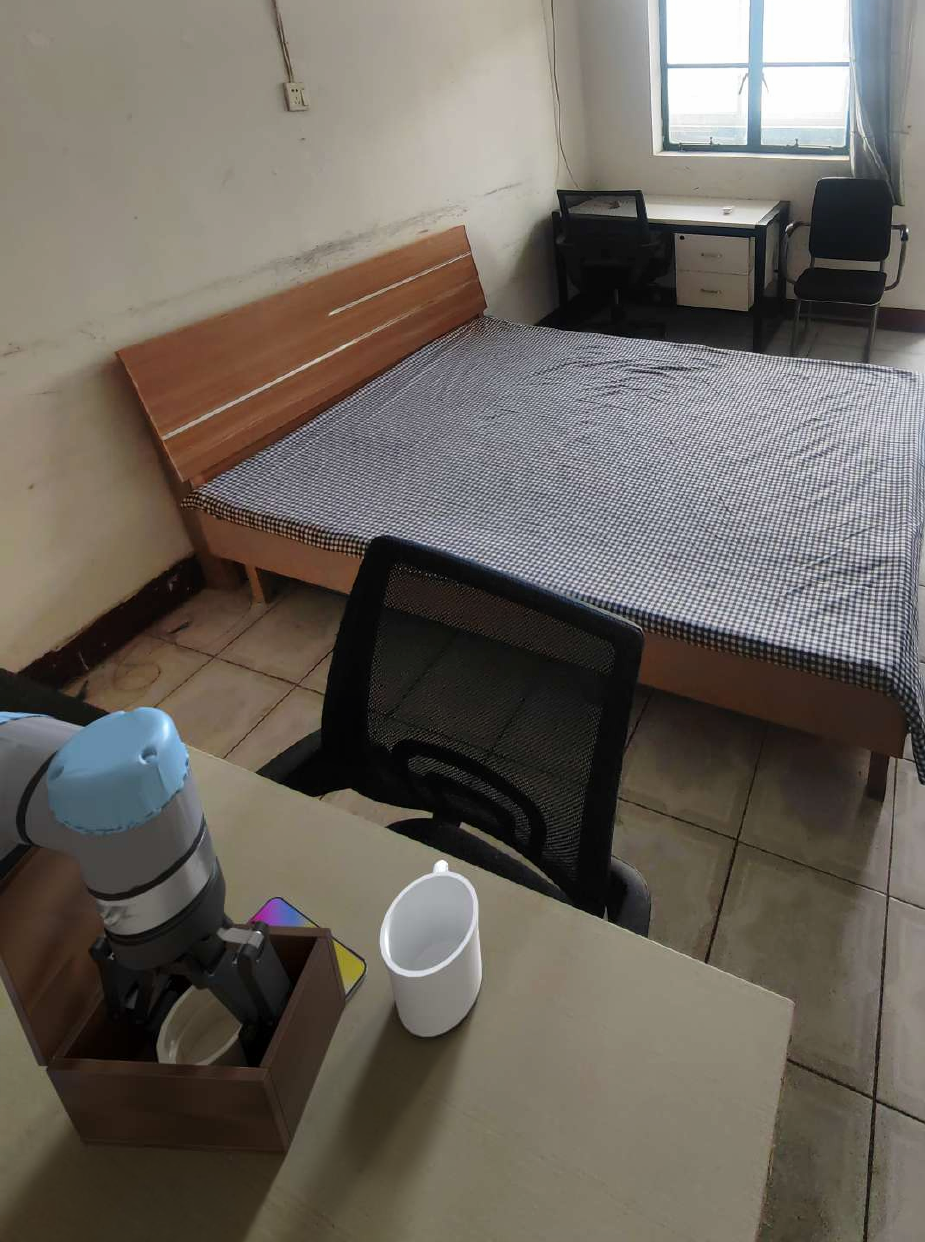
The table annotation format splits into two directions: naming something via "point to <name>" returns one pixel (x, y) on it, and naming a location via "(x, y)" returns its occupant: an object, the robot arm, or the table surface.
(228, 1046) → the bowl
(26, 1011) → the lid
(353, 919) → the table surface
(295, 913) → the smartphone
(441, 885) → the mug
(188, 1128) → the wooden box
